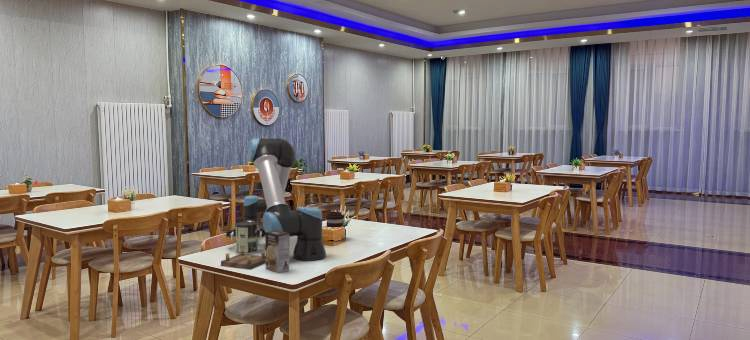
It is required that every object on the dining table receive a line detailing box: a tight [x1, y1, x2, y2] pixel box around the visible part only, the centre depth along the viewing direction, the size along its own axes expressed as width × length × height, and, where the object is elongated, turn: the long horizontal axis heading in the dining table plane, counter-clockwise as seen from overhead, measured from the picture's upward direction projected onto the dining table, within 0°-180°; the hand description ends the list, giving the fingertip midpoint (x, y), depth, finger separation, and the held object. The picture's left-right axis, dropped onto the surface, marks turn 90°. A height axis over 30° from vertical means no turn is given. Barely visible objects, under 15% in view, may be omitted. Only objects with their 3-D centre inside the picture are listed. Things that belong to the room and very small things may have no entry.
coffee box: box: [265, 230, 290, 274], centre depth 224 cm, size 9×6×16 cm
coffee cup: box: [325, 211, 345, 228], centre depth 284 cm, size 10×10×15 cm
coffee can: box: [235, 221, 258, 255], centre depth 254 cm, size 10×10×14 cm
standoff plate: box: [220, 248, 266, 270], centre depth 234 cm, size 15×15×5 cm
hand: (245, 237), depth 254 cm, fingers open, 13 cm apart
